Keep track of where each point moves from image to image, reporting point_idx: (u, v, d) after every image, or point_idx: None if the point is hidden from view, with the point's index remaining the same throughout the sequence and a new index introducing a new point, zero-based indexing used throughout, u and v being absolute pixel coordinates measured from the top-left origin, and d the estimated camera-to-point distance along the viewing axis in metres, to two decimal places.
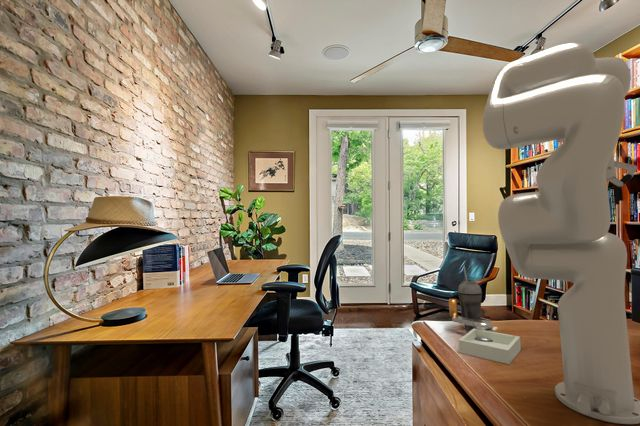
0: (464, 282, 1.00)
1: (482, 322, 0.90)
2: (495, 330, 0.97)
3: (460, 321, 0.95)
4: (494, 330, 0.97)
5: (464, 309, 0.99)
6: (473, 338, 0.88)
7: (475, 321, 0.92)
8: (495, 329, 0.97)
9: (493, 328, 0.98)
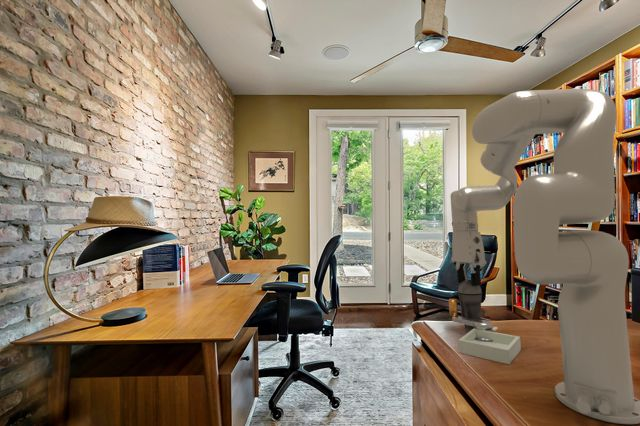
0: (464, 282, 1.00)
1: (482, 322, 0.90)
2: (495, 330, 0.97)
3: (460, 321, 0.95)
4: (494, 330, 0.97)
5: (464, 309, 0.99)
6: (473, 338, 0.88)
7: (475, 321, 0.92)
8: (495, 329, 0.97)
9: (493, 328, 0.98)
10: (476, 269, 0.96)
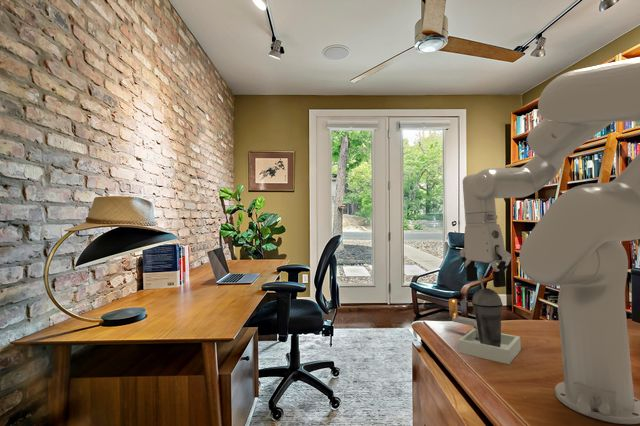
0: (480, 291, 0.82)
1: None
2: None
3: (460, 321, 0.95)
4: None
5: (480, 324, 0.81)
6: (473, 338, 0.88)
7: (475, 321, 0.92)
8: None
9: None
10: (500, 266, 0.77)
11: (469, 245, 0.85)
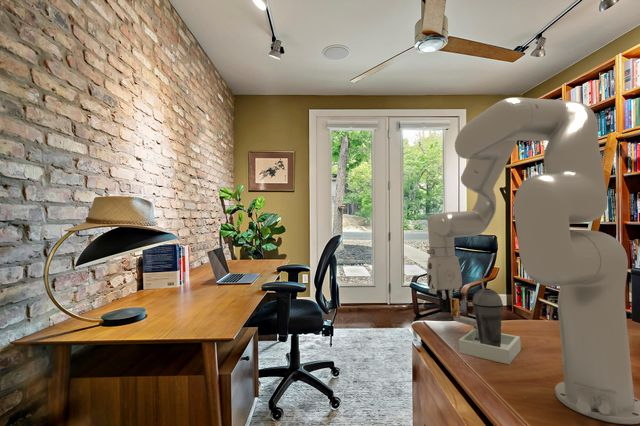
0: (480, 291, 0.82)
1: None
2: None
3: (461, 320, 0.96)
4: None
5: (481, 324, 0.81)
6: (473, 338, 0.88)
7: (475, 321, 0.92)
8: None
9: None
10: None
11: None
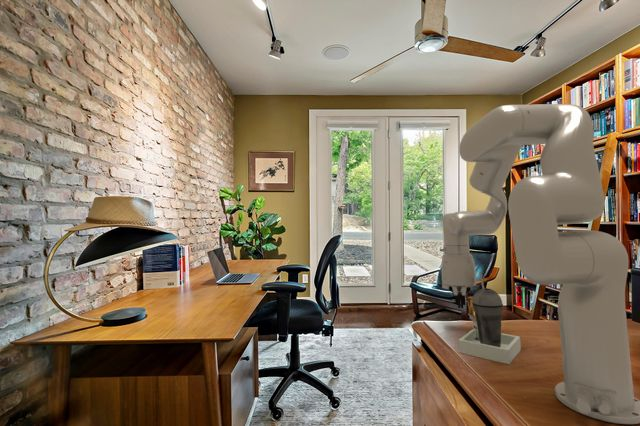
0: (480, 291, 0.82)
1: None
2: None
3: (472, 318, 0.97)
4: None
5: (481, 324, 0.81)
6: (473, 338, 0.88)
7: None
8: None
9: None
10: None
11: None
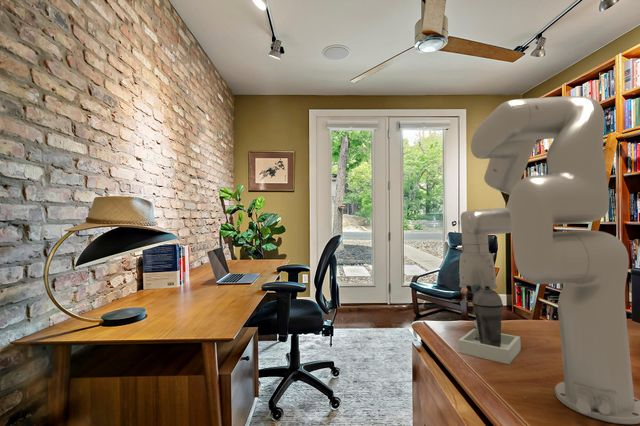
0: (480, 291, 0.82)
1: None
2: None
3: None
4: None
5: (481, 324, 0.81)
6: (473, 338, 0.88)
7: None
8: None
9: None
10: None
11: None
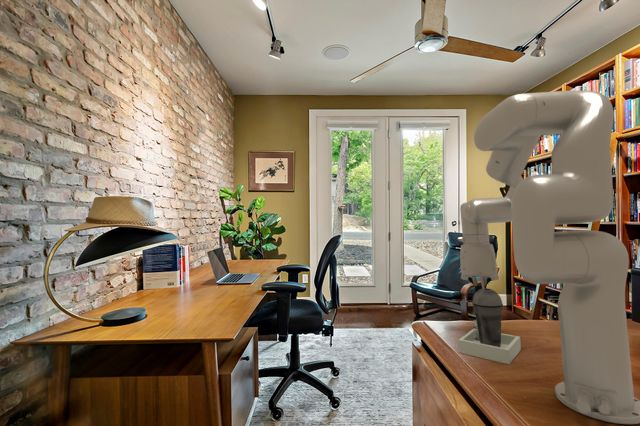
0: (480, 291, 0.82)
1: None
2: None
3: None
4: None
5: (481, 324, 0.81)
6: (473, 338, 0.88)
7: None
8: None
9: None
10: None
11: None
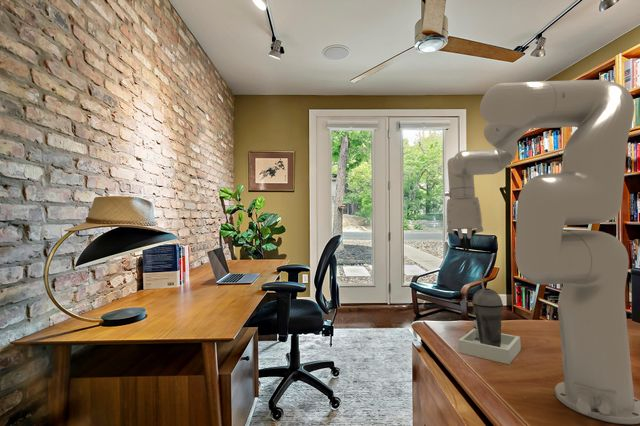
0: (480, 291, 0.82)
1: None
2: None
3: None
4: None
5: (481, 324, 0.81)
6: (473, 338, 0.88)
7: None
8: None
9: None
10: None
11: None
